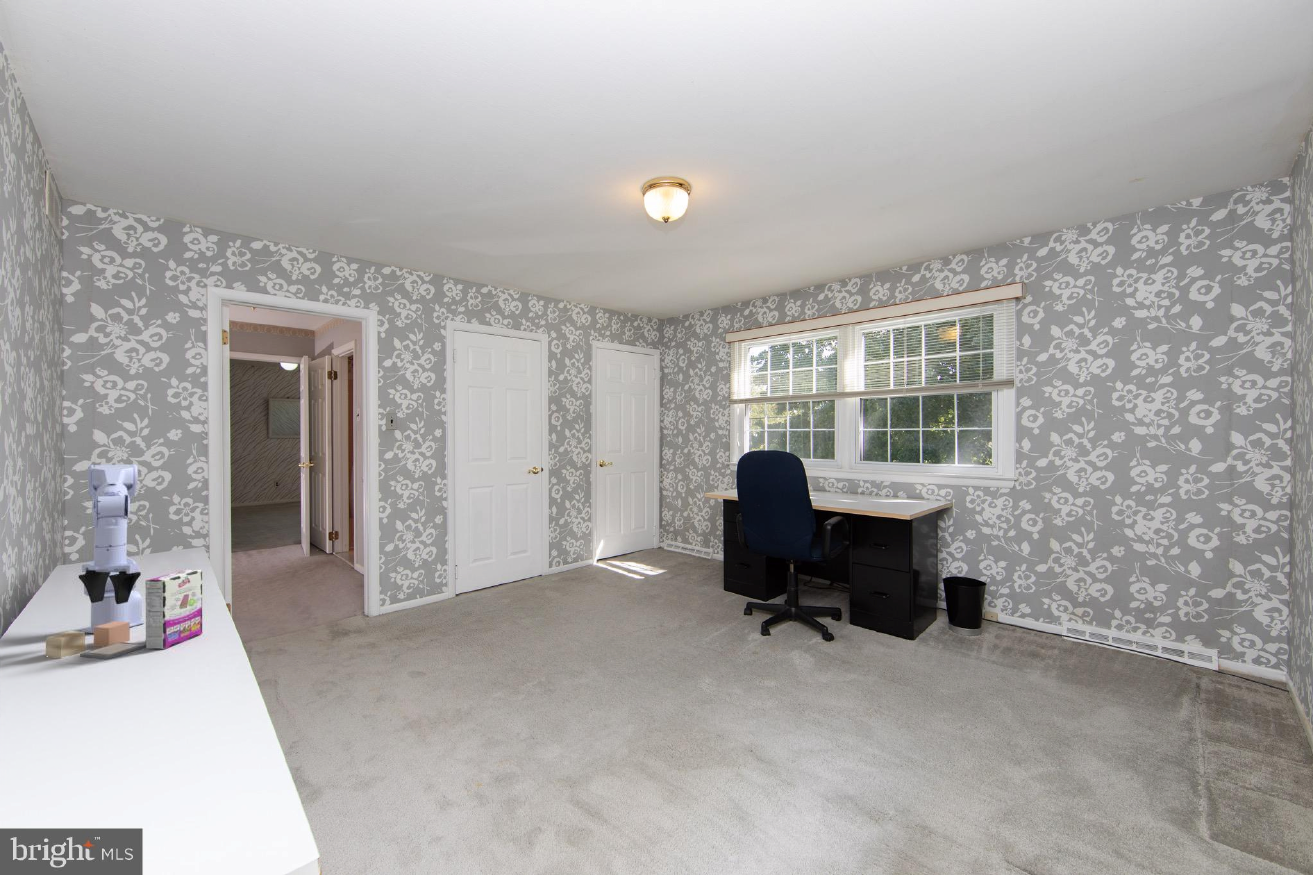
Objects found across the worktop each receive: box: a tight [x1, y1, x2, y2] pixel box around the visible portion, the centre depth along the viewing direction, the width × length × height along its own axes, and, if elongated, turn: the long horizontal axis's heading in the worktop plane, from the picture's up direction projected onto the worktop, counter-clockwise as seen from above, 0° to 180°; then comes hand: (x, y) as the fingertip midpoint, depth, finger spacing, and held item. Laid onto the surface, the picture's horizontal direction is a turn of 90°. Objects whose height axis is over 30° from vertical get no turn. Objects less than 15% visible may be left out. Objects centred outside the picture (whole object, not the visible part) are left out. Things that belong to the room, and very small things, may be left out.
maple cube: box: [45, 630, 86, 659], centre depth 131 cm, size 4×4×4 cm
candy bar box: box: [145, 569, 203, 650], centre depth 139 cm, size 11×5×16 cm, turn 179°
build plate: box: [79, 642, 146, 660], centre depth 132 cm, size 8×8×1 cm
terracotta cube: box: [93, 621, 131, 647], centre depth 138 cm, size 4×4×4 cm
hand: (109, 602), depth 137 cm, fingers open, 7 cm apart
